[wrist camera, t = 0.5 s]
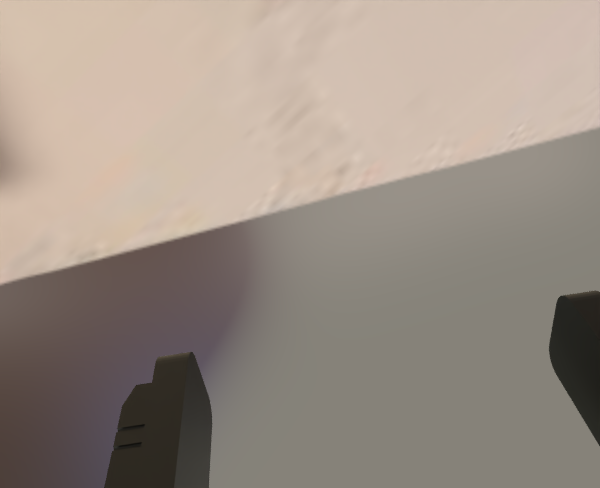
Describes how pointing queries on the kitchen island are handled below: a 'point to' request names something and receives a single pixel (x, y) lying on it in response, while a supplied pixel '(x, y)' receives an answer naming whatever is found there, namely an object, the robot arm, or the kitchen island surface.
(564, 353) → the robot arm
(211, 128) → the kitchen island surface
